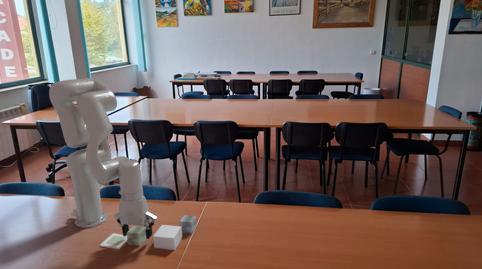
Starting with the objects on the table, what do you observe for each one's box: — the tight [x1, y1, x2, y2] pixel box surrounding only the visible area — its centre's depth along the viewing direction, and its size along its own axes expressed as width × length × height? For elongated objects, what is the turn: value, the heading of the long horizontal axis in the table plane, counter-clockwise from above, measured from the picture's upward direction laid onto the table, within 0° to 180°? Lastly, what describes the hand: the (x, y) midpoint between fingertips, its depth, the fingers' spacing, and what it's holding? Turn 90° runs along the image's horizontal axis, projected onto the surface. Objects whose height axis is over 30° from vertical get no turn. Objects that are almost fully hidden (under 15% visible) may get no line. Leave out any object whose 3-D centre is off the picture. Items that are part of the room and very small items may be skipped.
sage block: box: [127, 225, 147, 247], centre depth 125 cm, size 5×5×5 cm
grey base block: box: [152, 224, 183, 251], centre depth 124 cm, size 8×8×5 cm
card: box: [99, 233, 128, 250], centre depth 125 cm, size 8×8×1 cm
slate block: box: [179, 214, 198, 235], centre depth 132 cm, size 5×5×5 cm
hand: (137, 235), depth 124 cm, fingers open, 9 cm apart
